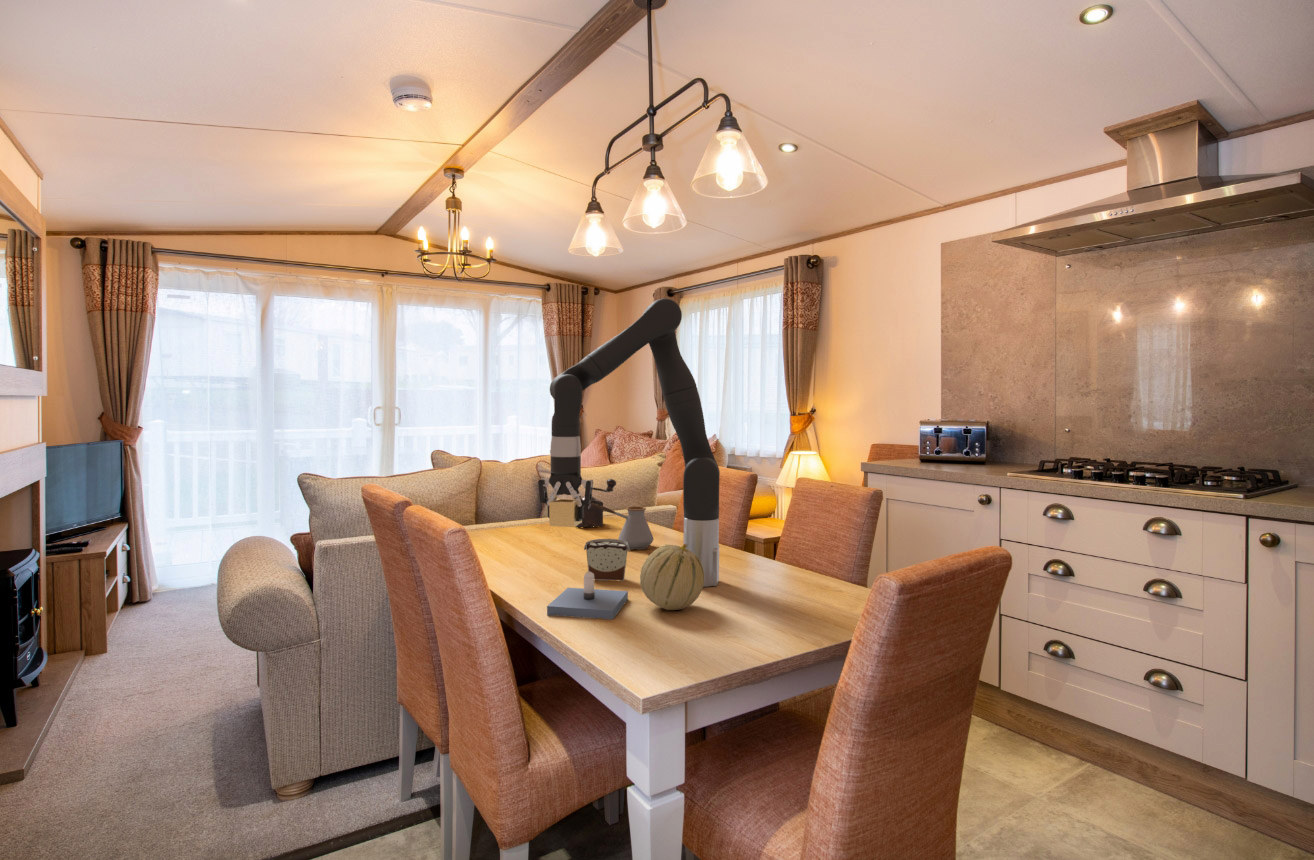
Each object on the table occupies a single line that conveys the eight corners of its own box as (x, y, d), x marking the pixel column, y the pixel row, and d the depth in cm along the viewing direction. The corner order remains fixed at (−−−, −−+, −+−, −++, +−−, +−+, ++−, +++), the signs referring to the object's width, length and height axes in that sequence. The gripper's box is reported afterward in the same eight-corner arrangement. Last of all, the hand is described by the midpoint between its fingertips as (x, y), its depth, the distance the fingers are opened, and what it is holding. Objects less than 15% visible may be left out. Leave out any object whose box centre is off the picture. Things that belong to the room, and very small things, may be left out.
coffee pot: (649, 542, 224) (650, 498, 224) (656, 550, 213) (657, 503, 212) (586, 545, 220) (586, 499, 219) (590, 552, 209) (590, 505, 208)
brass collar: (581, 522, 170) (581, 499, 170) (574, 527, 164) (574, 502, 164) (557, 521, 172) (557, 498, 171) (549, 526, 165) (549, 502, 165)
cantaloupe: (630, 602, 158) (631, 540, 157) (686, 596, 164) (687, 535, 163) (655, 622, 144) (656, 553, 143) (715, 614, 150) (716, 548, 149)
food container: (632, 575, 183) (632, 539, 182) (629, 581, 176) (629, 543, 176) (588, 573, 184) (588, 537, 183) (583, 579, 178) (583, 542, 177)
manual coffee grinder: (576, 528, 248) (576, 480, 247) (571, 523, 258) (571, 477, 257) (617, 526, 252) (617, 479, 251) (610, 521, 263) (611, 476, 262)
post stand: (627, 599, 160) (628, 565, 160) (612, 619, 146) (612, 582, 145) (567, 595, 163) (567, 562, 163) (547, 614, 148) (547, 578, 148)
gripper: (597, 453, 170) (597, 519, 170) (543, 452, 172) (543, 517, 173) (589, 456, 162) (589, 524, 163) (533, 455, 165) (533, 522, 165)
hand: (565, 520), depth 168 cm, fingers closed on brass collar, 6 cm apart
